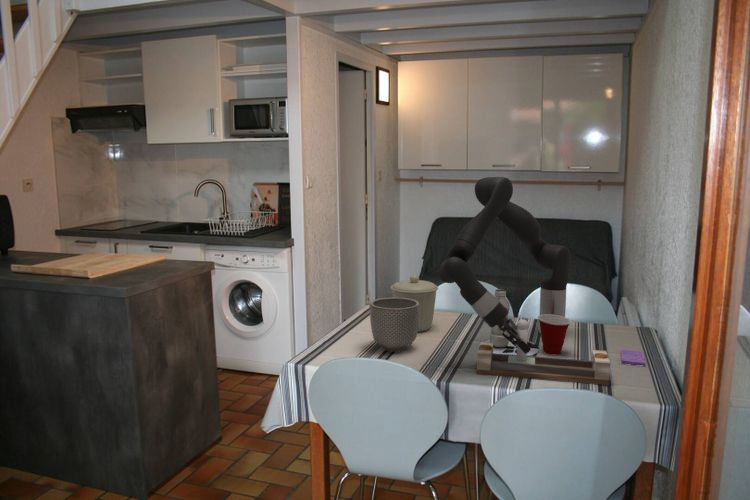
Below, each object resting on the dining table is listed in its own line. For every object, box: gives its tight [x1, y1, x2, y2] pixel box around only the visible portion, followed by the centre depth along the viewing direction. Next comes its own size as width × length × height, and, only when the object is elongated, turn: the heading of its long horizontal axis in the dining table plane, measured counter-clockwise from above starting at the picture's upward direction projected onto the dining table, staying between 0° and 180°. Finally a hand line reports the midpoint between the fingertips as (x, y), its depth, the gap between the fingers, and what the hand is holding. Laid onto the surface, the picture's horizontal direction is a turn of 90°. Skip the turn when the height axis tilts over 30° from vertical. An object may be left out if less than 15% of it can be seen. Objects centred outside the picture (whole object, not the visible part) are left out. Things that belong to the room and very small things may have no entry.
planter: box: [369, 296, 420, 352], centre depth 212 cm, size 17×17×16 cm
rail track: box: [476, 341, 611, 386], centre depth 188 cm, size 12×38×7 cm, turn 75°
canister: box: [390, 274, 439, 333], centre depth 235 cm, size 18×18×21 cm
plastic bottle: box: [489, 288, 511, 348], centre depth 213 cm, size 6×7×20 cm
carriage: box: [508, 318, 535, 365], centre depth 189 cm, size 6×8×15 cm
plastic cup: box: [537, 314, 572, 356], centre depth 207 cm, size 11×11×12 cm
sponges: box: [620, 349, 646, 367], centre depth 200 cm, size 7×13×2 cm, turn 159°
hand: (528, 349), depth 189 cm, fingers open, 3 cm apart
